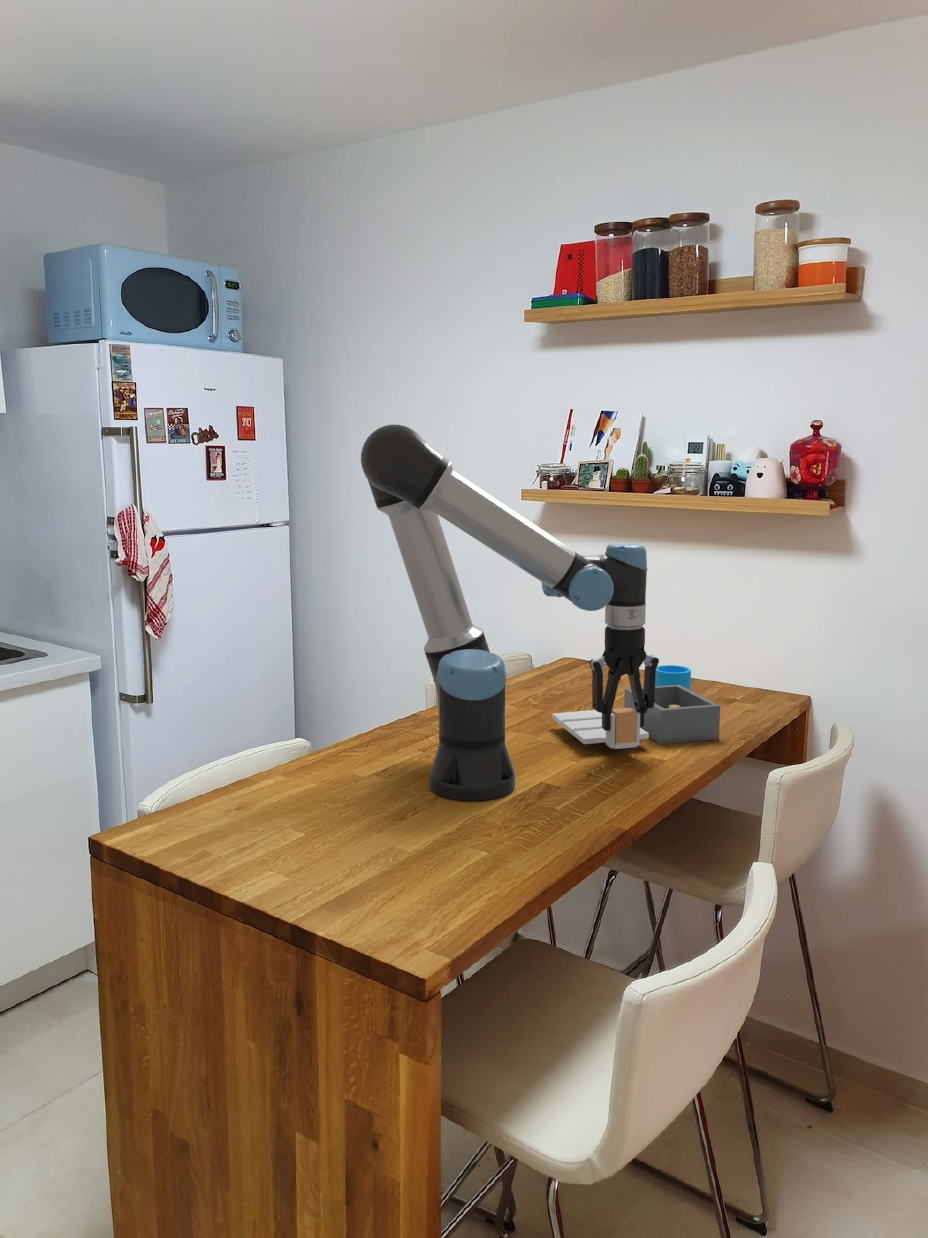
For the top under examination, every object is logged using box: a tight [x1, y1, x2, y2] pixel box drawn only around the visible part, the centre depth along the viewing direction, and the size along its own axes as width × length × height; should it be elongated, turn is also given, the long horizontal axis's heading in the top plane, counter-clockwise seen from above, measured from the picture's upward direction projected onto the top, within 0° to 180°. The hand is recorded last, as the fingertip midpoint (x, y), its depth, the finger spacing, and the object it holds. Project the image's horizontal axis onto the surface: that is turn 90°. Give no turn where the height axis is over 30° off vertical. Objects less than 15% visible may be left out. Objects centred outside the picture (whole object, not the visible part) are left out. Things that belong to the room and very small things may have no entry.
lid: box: [551, 707, 650, 750], centre depth 193 cm, size 14×23×7 cm, turn 14°
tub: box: [623, 685, 721, 745], centre depth 201 cm, size 13×18×7 cm
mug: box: [655, 664, 692, 690], centre depth 223 cm, size 12×8×8 cm
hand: (622, 744), depth 184 cm, fingers closed on lid, 4 cm apart
